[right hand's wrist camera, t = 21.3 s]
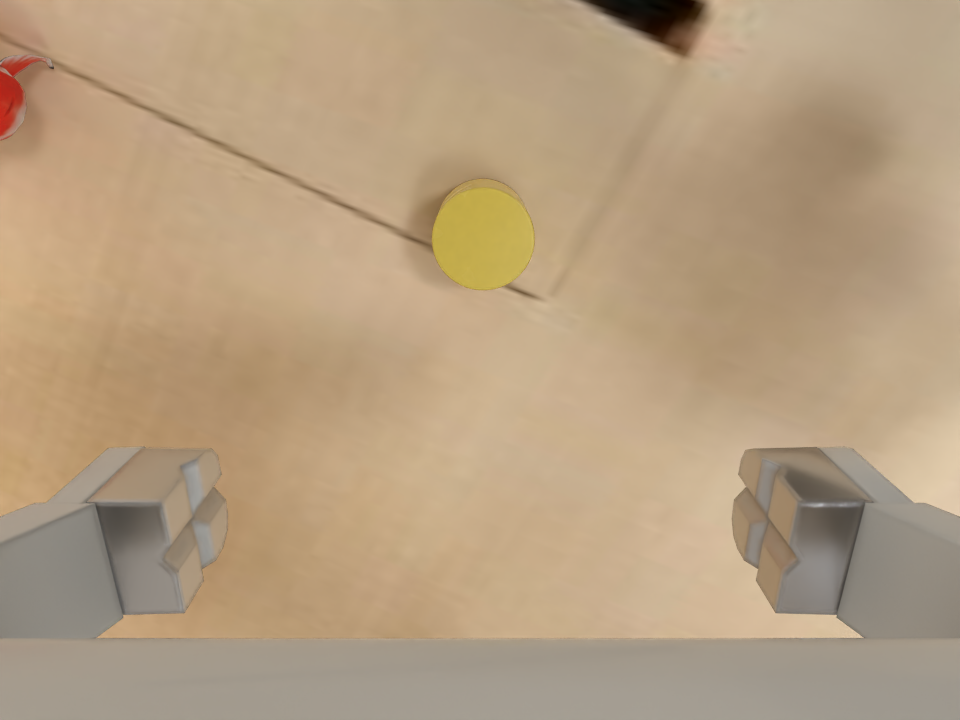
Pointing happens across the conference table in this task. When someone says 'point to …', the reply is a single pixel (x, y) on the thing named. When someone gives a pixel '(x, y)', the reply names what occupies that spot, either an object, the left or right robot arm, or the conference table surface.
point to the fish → (14, 92)
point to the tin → (483, 235)
